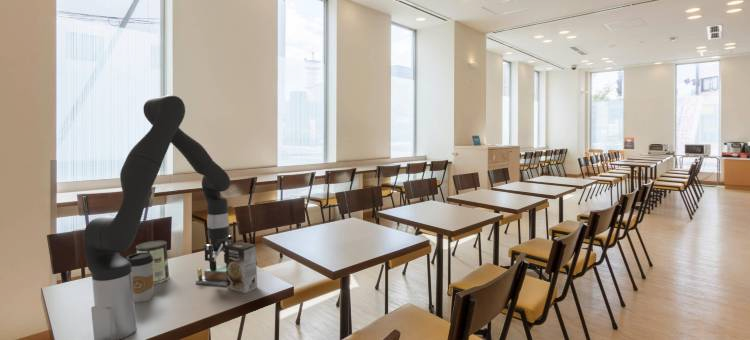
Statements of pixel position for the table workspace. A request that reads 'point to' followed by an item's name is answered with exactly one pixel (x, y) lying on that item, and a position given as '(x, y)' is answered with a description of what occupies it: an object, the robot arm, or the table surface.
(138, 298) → the coffee cup
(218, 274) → the mint green block
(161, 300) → the table surface
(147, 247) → the coffee can
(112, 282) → the robot arm
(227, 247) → the coffee box
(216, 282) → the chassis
